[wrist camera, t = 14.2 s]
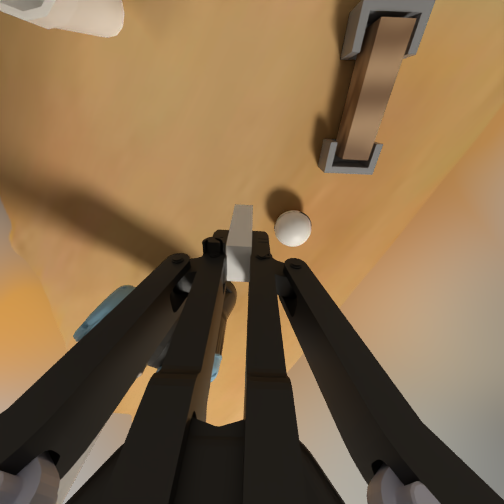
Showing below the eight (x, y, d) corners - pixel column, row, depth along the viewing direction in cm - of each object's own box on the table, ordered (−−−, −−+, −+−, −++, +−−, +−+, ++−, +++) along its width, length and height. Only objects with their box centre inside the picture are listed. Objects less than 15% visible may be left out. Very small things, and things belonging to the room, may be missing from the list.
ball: (311, 229, 45) (319, 247, 39) (279, 238, 47) (281, 257, 41) (300, 187, 40) (307, 200, 34) (264, 200, 41) (265, 215, 35)
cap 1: (361, 168, 37) (372, 174, 34) (317, 166, 37) (324, 172, 34) (370, 140, 35) (383, 144, 31) (323, 138, 35) (331, 142, 31)
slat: (355, 154, 36) (367, 160, 32) (332, 153, 36) (342, 159, 32) (392, 32, 27) (416, 18, 23) (363, 30, 27) (381, 16, 23)
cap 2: (349, 12, 26) (364, -4, 23) (411, 14, 26) (435, -1, 23) (340, 59, 29) (351, 52, 25) (395, 61, 29) (415, 54, 25)
